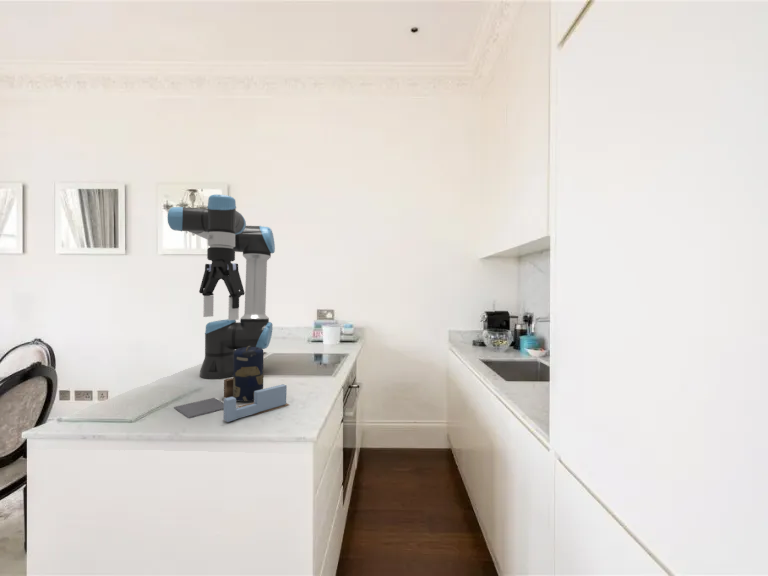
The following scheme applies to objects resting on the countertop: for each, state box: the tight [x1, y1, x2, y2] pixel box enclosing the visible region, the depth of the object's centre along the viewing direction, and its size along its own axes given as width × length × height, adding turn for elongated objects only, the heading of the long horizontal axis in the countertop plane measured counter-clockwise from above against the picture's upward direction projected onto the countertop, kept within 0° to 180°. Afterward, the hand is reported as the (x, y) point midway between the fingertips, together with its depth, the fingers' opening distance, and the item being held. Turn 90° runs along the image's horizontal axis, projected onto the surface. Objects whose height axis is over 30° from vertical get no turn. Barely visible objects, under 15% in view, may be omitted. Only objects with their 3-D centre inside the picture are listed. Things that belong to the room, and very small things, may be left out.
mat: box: [173, 397, 224, 419], centre depth 106 cm, size 12×12×1 cm
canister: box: [232, 346, 265, 402], centre depth 115 cm, size 10×10×18 cm
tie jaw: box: [223, 383, 288, 423], centre depth 102 cm, size 3×19×6 cm, turn 139°
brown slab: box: [223, 377, 290, 416], centre depth 113 cm, size 23×12×6 cm, turn 49°
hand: (220, 318), depth 102 cm, fingers open, 13 cm apart
